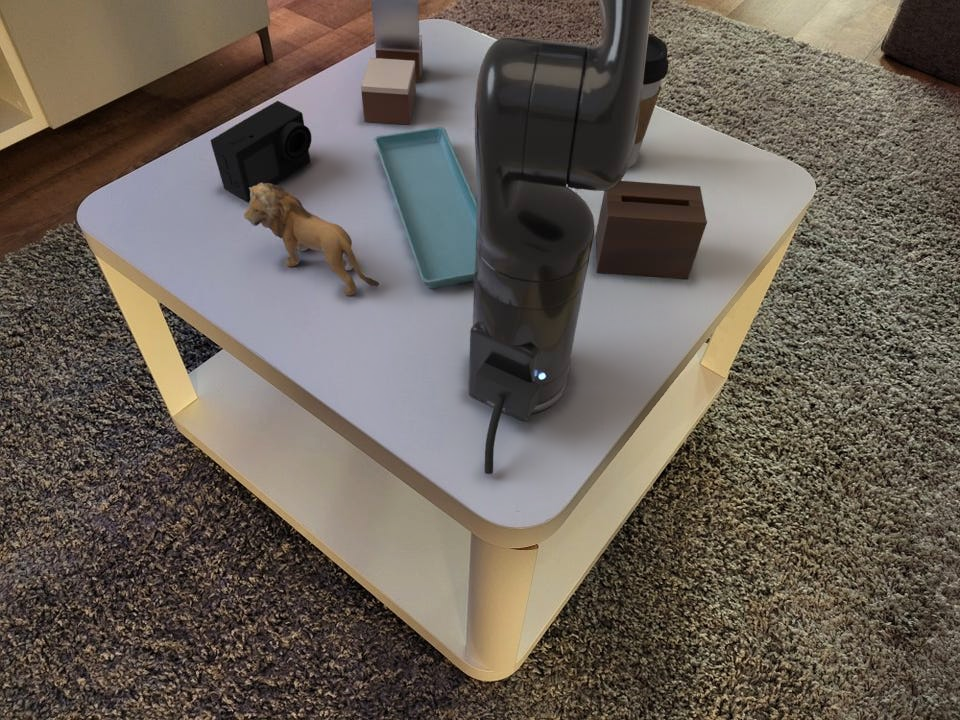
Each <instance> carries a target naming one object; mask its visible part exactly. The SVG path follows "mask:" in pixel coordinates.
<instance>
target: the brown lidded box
mask: <svg viewBox="0 0 960 720" xmlns="http://www.w3.org/2000/svg"><path fill="white" fill-rule="evenodd" d="M360 90H361V91H360V93H361V103H362V111H363V121H364V123H377V124H389V125H390V124H391V125H405V126H406V125H407V126H409V125H410V124H411V120H412V116H413V110H414V107H415V103H416V98H417V82H416V77H415V61H411V60H396V59H381V58H376V57H370V58H369V60H368V62H367V66H366V69H365V72H364V75H363V77H362V81H361V85H360Z"/></svg>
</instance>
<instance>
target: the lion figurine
mask: <svg viewBox="0 0 960 720" xmlns="http://www.w3.org/2000/svg"><path fill="white" fill-rule="evenodd" d="M249 189H250V198H251V200H250V202H248V203H249V208H247V209H246V211H245V212H244V213H243V217H244V218H243V219H245V220H247V221H248V222H249V223H250V224H251V225H252V226H254V227H258V225H260V224H261V225H262V227H263V228H265V229H266V228H267V229H269V230H270V231H271V232H272V233H273V235H274V237H278V238H280V239H282V242H283V245H284V247H285V250H286V251H287V253H288V255H289V256H290V257H287V258H286V260H285V264H286V266H287V267H290V268H291V267H295V266H297V265H298V264H299V263H300V256H299V255H300V254H299V253H298V251H300V252H304V251H307V250H308V249H311V250H314V251H323V254H324V257H325V260H326V261H327V263H328V265H329V266H330V268H331V270H332V271H333V272H334V273H335V274H336V275H337V276H338V278H340V279H341V280H342V281H343V282H344V283H345V284H346V285H345V286H344V287H343V292H344V294H345V295H346V296H353V295H355V293H356V292H357V286H356V283H355V281H354V279H353V277H352V276H351V275H350V274H349V272H347V271H351V270H353V269H354V271H355V272H356V274H357V275H358V277H359V278H360V279H361V280H362V281H363V282H365V283H366V284H368V285H369V286H370V287H378V286H379V285H380V282H379V281H378V280H375V279H372V278H370V277H368V276H366V275H365V274H364V273H363V271H362V270H361V268H360V266H359V263H358V261H357V258H356V256H355V254H354V251H353V248H352V244H353V241H352V238H351V236H350V235H349V233H348V232H347V231H346V230H345V229H344V228H343V226H341V225H339V224H336V223H333V222H329V221H326V220H324V219H323V218H320V217H319V216H317V215H315V214H313V213H311V212H309V211H308V210H306V208H305V207H304V206H303V203H302V202H301V201H300V199H299V198H298V197H296V196H295V195H294V194H293V193H291V192H289V191H288V190H286V189H284V188H282V187H281V186H278V184H276V185H273V184H270V183H265V184H263V183H260V184H258V185H257V186H253V187H250V188H249ZM343 258H344V259H345V261H343V260H344V259H343Z"/></svg>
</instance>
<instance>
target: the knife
mask: <svg viewBox="0 0 960 720" xmlns="http://www.w3.org/2000/svg"><path fill="white" fill-rule="evenodd" d="M371 10H372V21H373V31H374V32H373V34H374V42H375V43H374V45H375V44H376V48H387V49H406V50H420V35H421V34H420V18H419V17H420V16H419V15H420V13H419V0H371Z"/></svg>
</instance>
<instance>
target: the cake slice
mask: <svg viewBox="0 0 960 720" xmlns="http://www.w3.org/2000/svg"><path fill="white" fill-rule="evenodd" d="M374 51H375V58H381V59H396V60H411V61H415V77H416V83H421V79H422V76H423V71H424V58H423V57H424V56H423V34H420V50H406V49H387V48H376V44H375V43H374Z"/></svg>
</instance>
